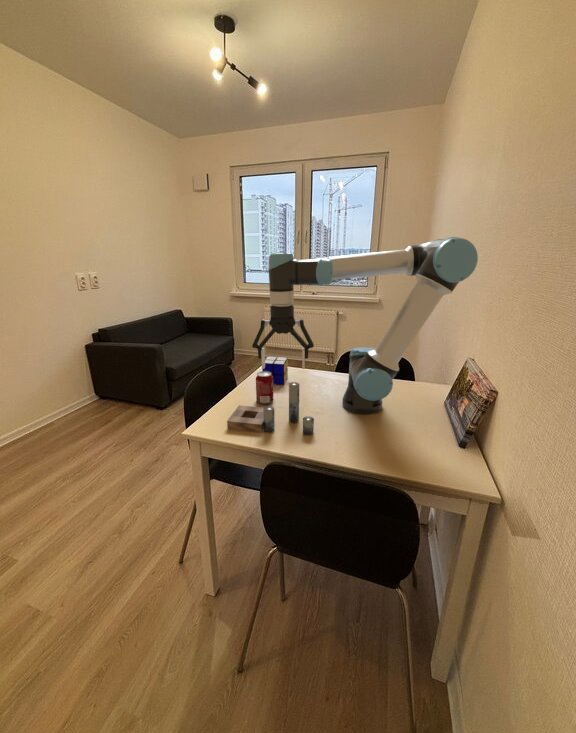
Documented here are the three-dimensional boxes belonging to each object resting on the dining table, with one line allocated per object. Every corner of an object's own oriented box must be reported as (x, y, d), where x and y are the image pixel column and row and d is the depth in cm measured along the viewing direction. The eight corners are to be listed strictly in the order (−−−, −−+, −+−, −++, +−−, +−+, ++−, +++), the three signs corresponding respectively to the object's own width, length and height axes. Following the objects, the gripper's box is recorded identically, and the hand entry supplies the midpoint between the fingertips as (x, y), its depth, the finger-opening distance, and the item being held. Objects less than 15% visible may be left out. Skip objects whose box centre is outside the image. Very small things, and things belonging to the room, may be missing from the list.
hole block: (270, 415, 118) (270, 408, 117) (261, 432, 107) (261, 424, 106) (239, 412, 120) (238, 405, 119) (227, 428, 109) (227, 421, 108)
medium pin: (275, 427, 110) (275, 406, 107) (273, 433, 106) (272, 411, 104) (265, 426, 110) (264, 405, 108) (262, 432, 107) (262, 410, 104)
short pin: (314, 430, 108) (314, 417, 107) (312, 435, 105) (313, 422, 103) (303, 429, 109) (303, 416, 107) (301, 434, 106) (302, 421, 104)
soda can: (271, 406, 125) (270, 377, 121) (254, 404, 126) (253, 376, 123) (275, 398, 131) (274, 371, 127) (259, 397, 133) (258, 370, 129)
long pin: (299, 418, 116) (300, 382, 111) (298, 423, 112) (298, 386, 108) (289, 417, 116) (289, 381, 112) (287, 422, 113) (288, 385, 108)
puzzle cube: (262, 383, 147) (261, 363, 143) (267, 376, 156) (267, 356, 153) (284, 385, 145) (284, 364, 142) (287, 377, 154) (287, 357, 151)
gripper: (321, 302, 105) (320, 363, 112) (245, 303, 107) (249, 363, 114) (321, 305, 98) (320, 371, 105) (240, 306, 100) (245, 371, 107)
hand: (283, 367), depth 109 cm, fingers open, 13 cm apart
